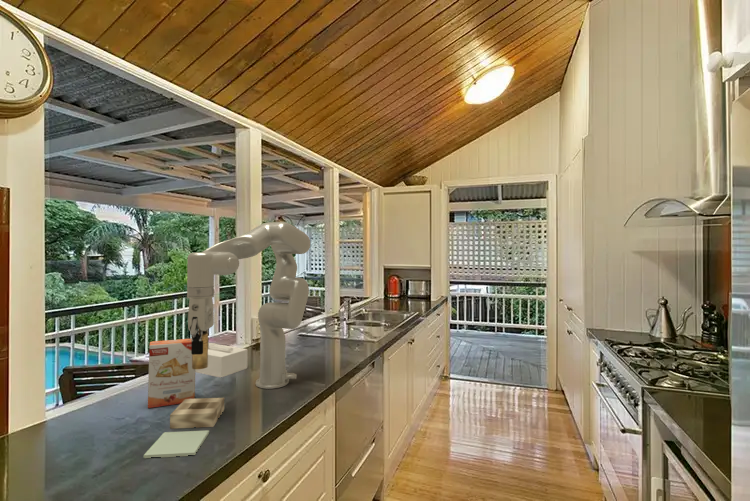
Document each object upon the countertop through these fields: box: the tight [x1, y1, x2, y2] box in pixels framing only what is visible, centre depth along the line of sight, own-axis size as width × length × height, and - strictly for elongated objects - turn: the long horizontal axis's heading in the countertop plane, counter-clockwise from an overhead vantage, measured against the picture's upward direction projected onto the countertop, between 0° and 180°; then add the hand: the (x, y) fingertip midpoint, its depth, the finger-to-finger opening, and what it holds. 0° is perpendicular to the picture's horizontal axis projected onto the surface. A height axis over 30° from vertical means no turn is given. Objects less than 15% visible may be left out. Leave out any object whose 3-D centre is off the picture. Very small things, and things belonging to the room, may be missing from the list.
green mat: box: [143, 429, 210, 459], centre depth 101 cm, size 12×12×1 cm
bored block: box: [169, 397, 225, 429], centre depth 117 cm, size 12×12×4 cm
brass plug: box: [192, 333, 209, 369], centre depth 117 cm, size 4×4×10 cm
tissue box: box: [195, 342, 249, 378], centre depth 167 cm, size 14×25×11 cm, turn 64°
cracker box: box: [147, 338, 196, 409], centre depth 129 cm, size 14×6×21 cm, turn 117°
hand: (200, 351), depth 117 cm, fingers closed on brass plug, 4 cm apart
